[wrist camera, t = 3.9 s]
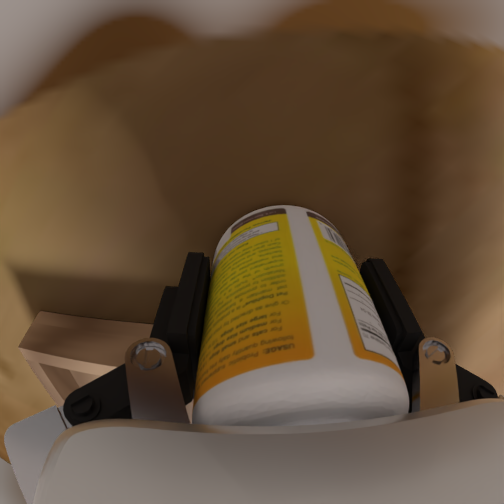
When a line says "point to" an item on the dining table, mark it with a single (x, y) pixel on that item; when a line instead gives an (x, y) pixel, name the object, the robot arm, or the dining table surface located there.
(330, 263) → the supplement bottle
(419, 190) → the dining table surface
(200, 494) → the robot arm
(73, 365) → the divided well tray
